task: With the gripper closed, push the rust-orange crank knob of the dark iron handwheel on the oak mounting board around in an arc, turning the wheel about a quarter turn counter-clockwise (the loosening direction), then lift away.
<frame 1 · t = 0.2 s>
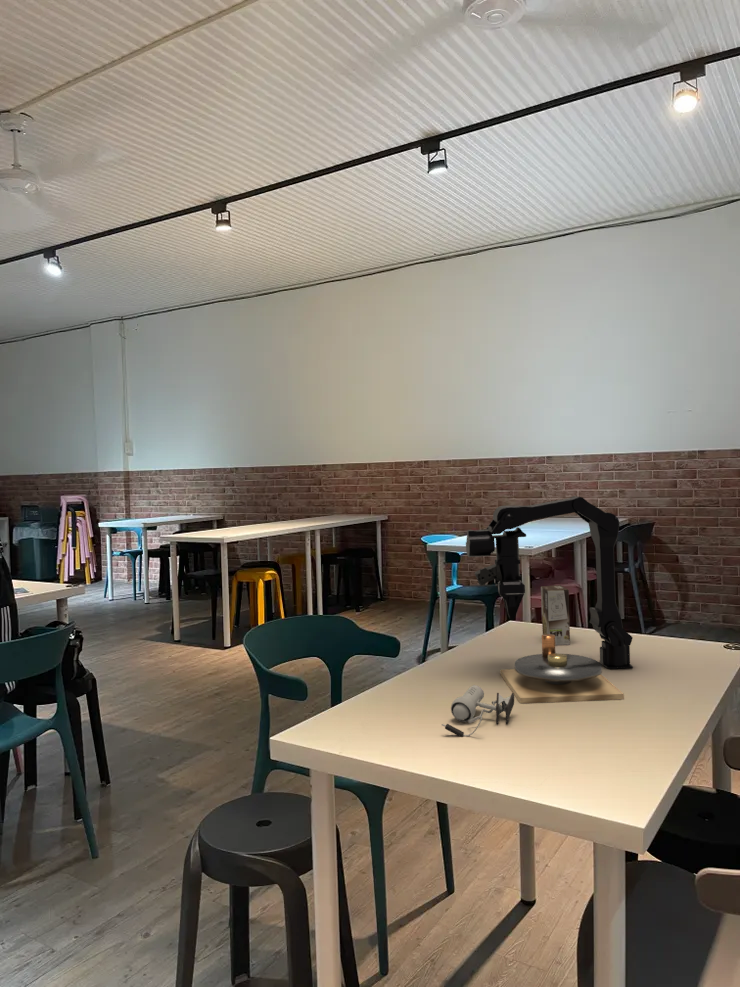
hand: (510, 615, 187), 14 cm above the table, fingers open, 9 cm apart
handwheel: (557, 656, 173), point 7 cm above the table, hinge at 0.0°
clip-on lamp: (477, 725, 150), on the table
coffee box: (556, 642, 216), on the table
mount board: (558, 685, 173), on the table
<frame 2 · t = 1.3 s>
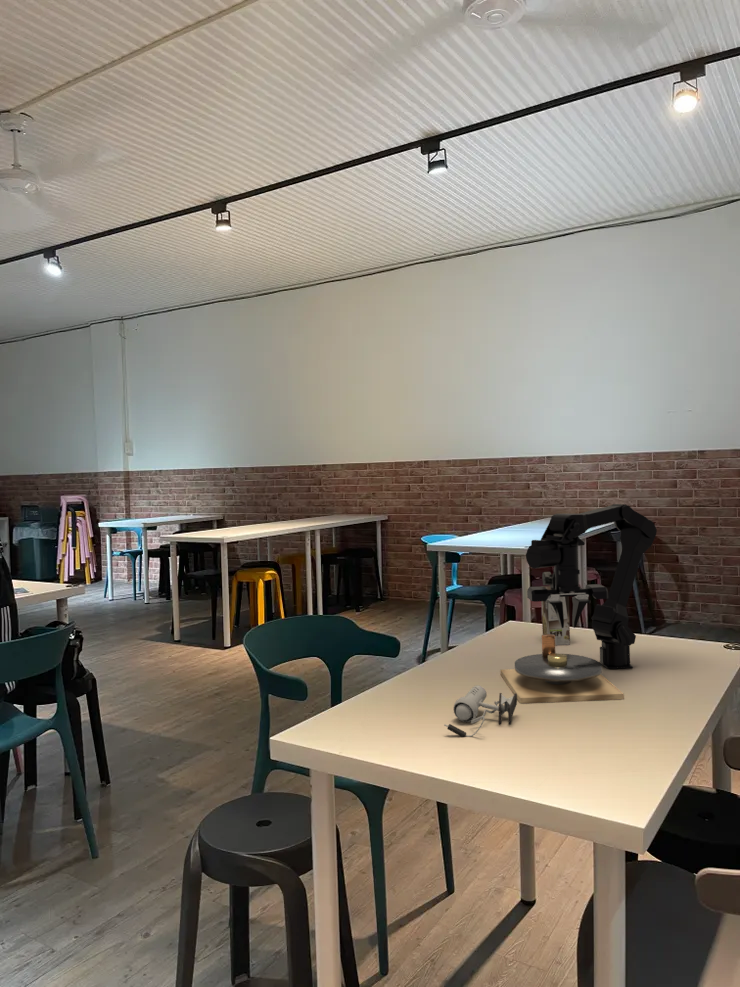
hand: (568, 627, 181), 12 cm above the table, fingers open, 3 cm apart
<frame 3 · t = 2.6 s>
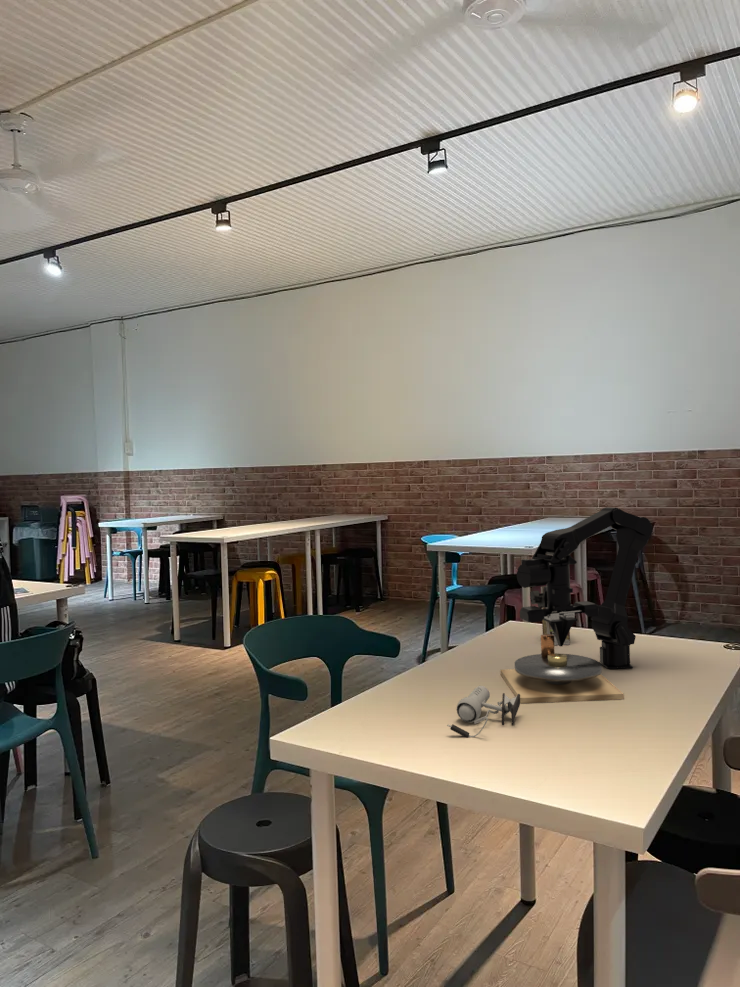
hand: (560, 646, 181), 7 cm above the table, fingers closed
handwheel: (557, 656, 173), point 7 cm above the table, hinge at 1.7°, touching gripper
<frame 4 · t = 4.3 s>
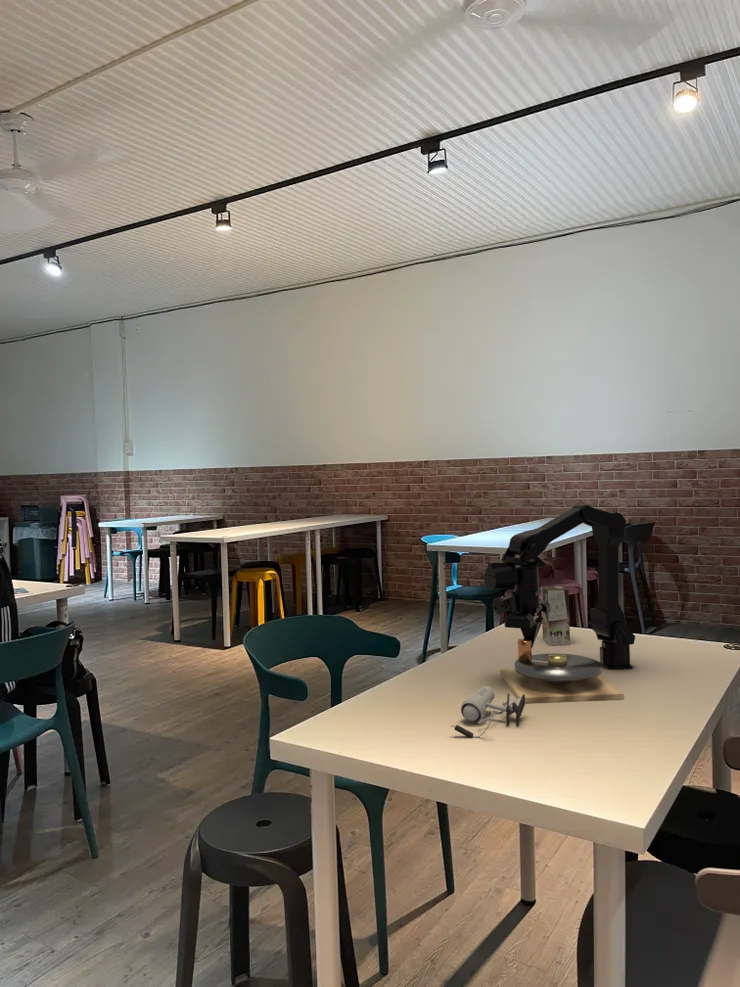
hand: (529, 648, 180), 7 cm above the table, fingers closed
handwheel: (557, 656, 173), point 7 cm above the table, hinge at 57.6°, touching gripper
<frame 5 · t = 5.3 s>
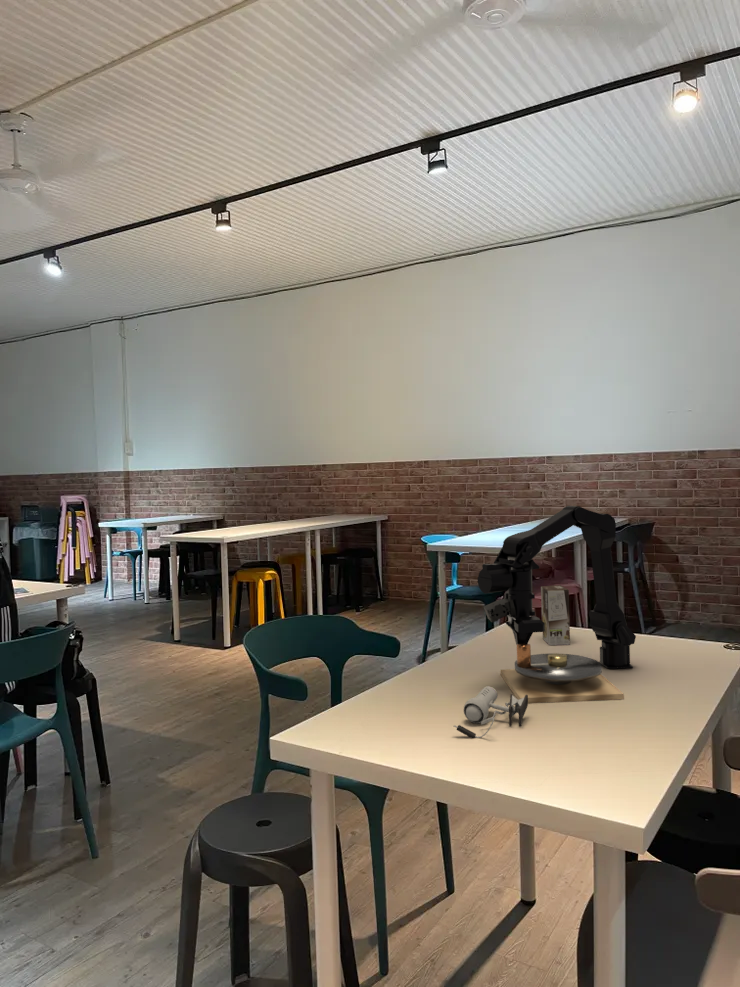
hand: (520, 653, 176), 7 cm above the table, fingers closed
handwheel: (557, 656, 173), point 7 cm above the table, hinge at 92.3°, touching gripper
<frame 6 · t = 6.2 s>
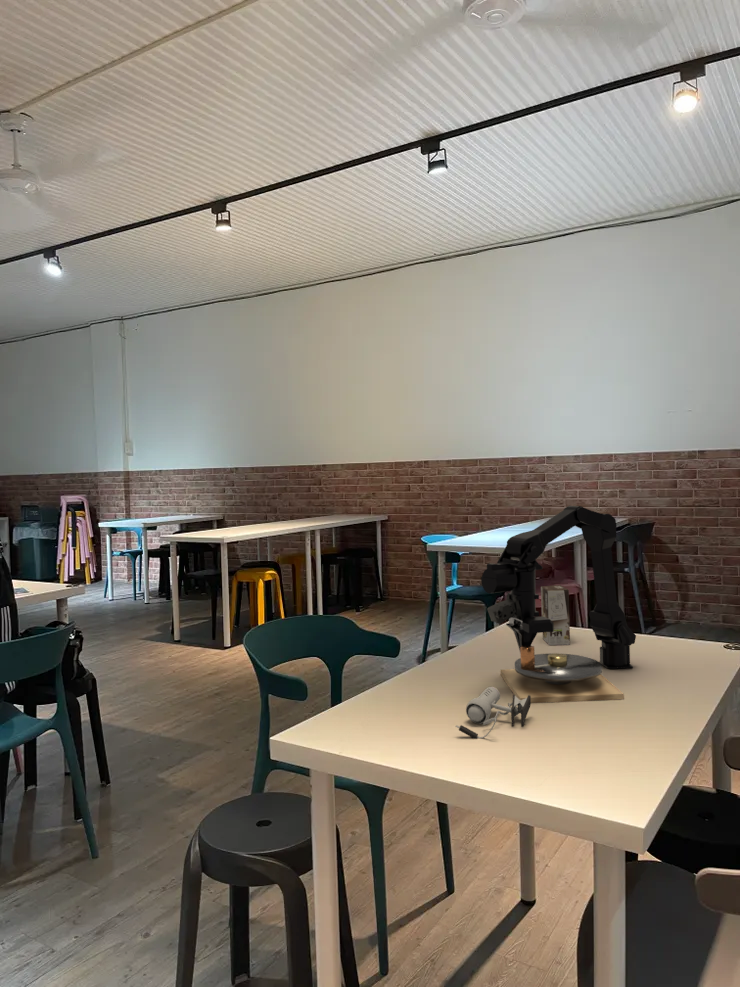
hand: (523, 654, 174), 8 cm above the table, fingers closed
handwheel: (557, 656, 173), point 7 cm above the table, hinge at 108.2°
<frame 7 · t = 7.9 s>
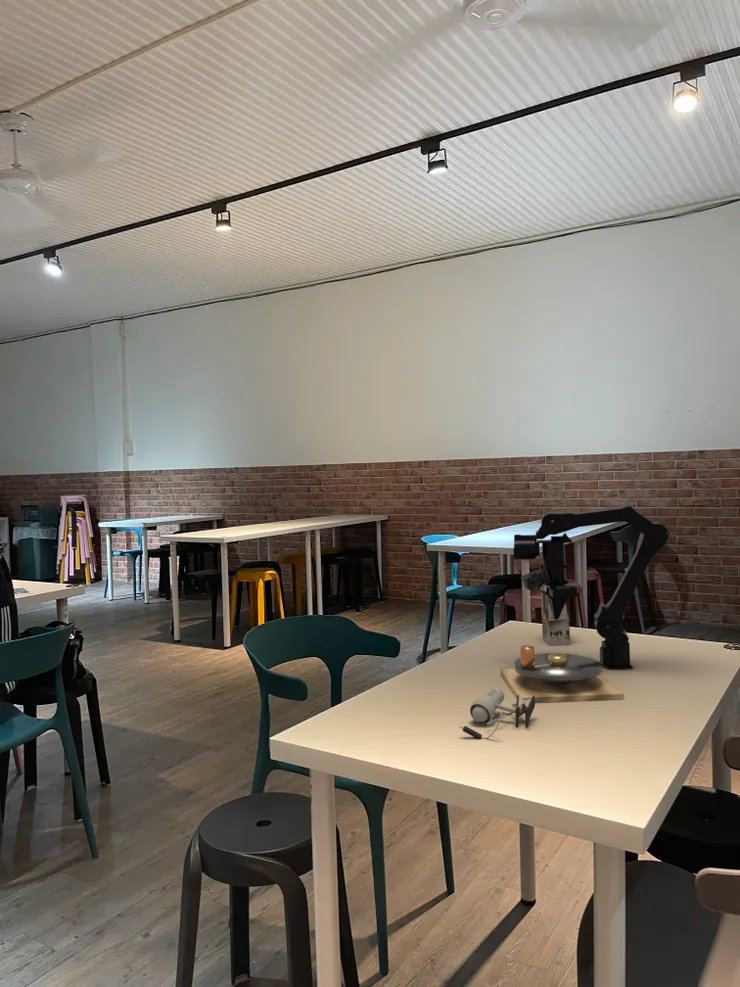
hand: (556, 619, 191), 12 cm above the table, fingers closed
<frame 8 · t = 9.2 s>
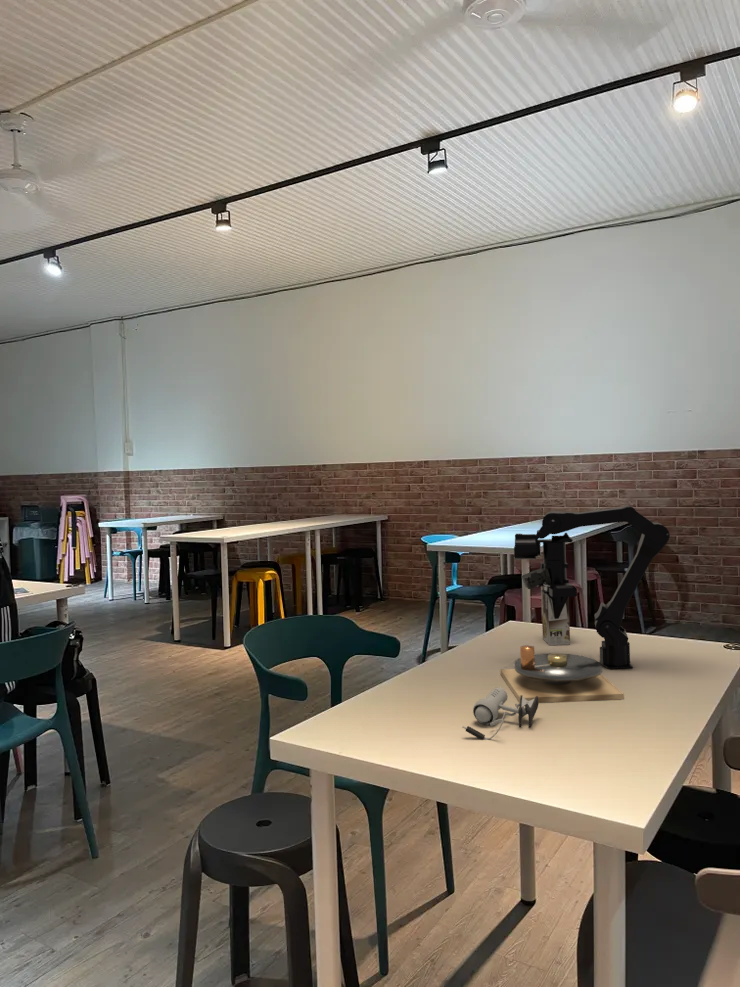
hand: (556, 618, 192), 12 cm above the table, fingers closed
at the end: handwheel at +108° (first picture: +0°); coffee box moved 0.2 cm from its start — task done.
